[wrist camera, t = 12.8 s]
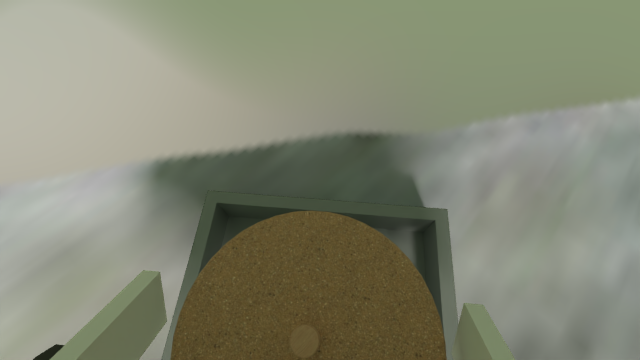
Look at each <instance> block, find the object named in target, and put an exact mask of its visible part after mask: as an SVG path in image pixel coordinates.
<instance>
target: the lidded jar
mask: <svg viewBox="0 0 640 360" xmlns="http://www.w3.org/2000/svg"><path fill="white" fill-rule="evenodd" d="M170 360H447V357H446V344H445V338H444V333H443V328H442V324H441V319H440V316H439V313H438V310H437V308H436V305H435V302H434V299H433V297H432V295H431V293H430V291H429V289H428V287H427V285H426V283H425V281H424V279H423V277H422V276H421V274H420V273H419V272H418V270H417V269H416V267H415V266H414V265H413V263H412V262H411V260H410V259H409V258H408V257H407V256H406V255H405V254H404V253H403V252H402V251H401V250H400V249H399V247H398V246H397V245H396V244H394V243H393V242H392V241H391V240H389V239H388V238H387V237H386V236H384V235H383V234H382V233H380V232H379V231H377V230H375V229H374V228H372V227H370V226H368V225H367V224H365V223H363V222H360V221H358V220H355V219H353V218H350V217H348V216H344V215H340V214H336V213H332V212H323V211H297V212H290V213H285V214H281V215H276V216H273V217H271V218H268V219H266V220H263V221H260V222H258V223H256V224H254V225H252V226H251V227H249V228H247V229H245V230H243V231H242V232H240V233H239V234H238V235H236V236H235V237H234V238H232V239H231V240H230V241H228V242H227V243H226V244H225V245H224V246H223V247H222V248H221V249H220V250H219V251H218V252H217V253H216V254H215V255H214V256H213V257H212V258H211V259H210V260H209V262H208V263H207V264H206V266H205V267H204V268H203V270H202V271H201V272H200V273H199V275H198V277H197V279H196V280H195V282H194V284H193V285H192V287H191V289H190V291H189V292H188V295H187V297H186V299H185V302H184V304H183V307H182V309H181V311H180V314H179V317H178V321H177V325H176V329H175V332H174V336H173V343H172V351H171V358H170Z"/></svg>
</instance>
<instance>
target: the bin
mask: <svg viewBox="0 0 640 360" xmlns="http://www.w3.org/2000/svg"><path fill="white" fill-rule="evenodd" d="M297 211H323V212H332V213H336V214H340V215H344V216H348V217H350V218H353V219H355V220H358V221H360V222H363V223H365V224H367V225H368V226H370V227H372V228H374V229H375V230H377V231H379V232H380V233H382V234H383V235H384V236H386V237H387V238H388V239H389V240H391V241H392V242H393V243H394V244H396V245H397V246H398V247H399V249H400V250H401V251H402V252H403V253H404V254H405V255H406V256H407V257H408V258H409V259H410V260H411V262H412V263H413V265H414V266H415V267H416V269H417V270H418V272H419V273H420V274H421V276H422V277H423V279H424V281H425V283H426V285H427V287H428V289H429V291H430V293H431V295H432V297H433V299H434V302H435V305H436V308H437V310H438V313H439V316H440V319H441V324H442V328H443V333H444V338H445V344H446V357H447V360H453V357H452V354H451V352H452V348H453V344H454V340H455V336H456V332H457V328H458V318H457V307H456V296H455V286H454V275H453V264H452V254H451V243H450V232H449V222H448V211H447V209H439V208H426V207H413V206H401V205H388V204H375V203H362V202H349V201H336V200H323V199H310V198H297V197H284V196H271V195H258V194H245V193H233V192H220V191H208V192H207V196H206V199H205V203H204V206H203V210H202V214H201V217H200V221H199V225H198V228H197V232H196V236H195V239H194V243H193V246H192V250H191V254H190V257H189V261H188V265H187V268H186V272H185V276H184V279H183V283H182V286H181V290H180V294H179V297H178V301H177V305H176V308H175V312H174V315H173V319H172V323H171V326H170V330H169V334H168V337H167V341H166V345H165V348H164V352H163V355H162V359H161V360H170V358H171V351H172V343H173V336H174V332H175V329H176V325H177V321H178V317H179V314H180V311H181V309H182V307H183V304H184V302H185V299H186V297H187V295H188V292H189V291H190V289H191V287H192V285H193V284H194V282H195V280H196V279H197V277H198V275H199V273H200V272H201V271H202V270H203V268H204V267H205V266H206V264H207V263H208V262H209V260H210V259H211V258H212V257H213V256H214V255H215V254H216V253H217V252H218V251H219V250H220V249H221V248H222V247H223V246H224V245H225V244H226V243H227V242H228V241H230V240H231V239H232V238H234V237H235V236H236V235H238V234H239V233H240V232H242V231H243V230H245V229H247V228H249V227H251V226H252V225H254V224H256V223H258V222H260V221H263V220H266V219H268V218H271V217H273V216H276V215H281V214H285V213H290V212H297Z"/></svg>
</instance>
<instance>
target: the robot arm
mask: <svg viewBox="0 0 640 360" xmlns="http://www.w3.org/2000/svg"><path fill="white" fill-rule="evenodd" d="M166 322H167V317H166V310H165V303H164V296H163V290H162V283H161V276H160V272H155V271H145V270H143V271H142V272H141V273H140V274H139V275H138V276H137V277H136V278H135V279H134V280H133V281H132V282H131V283H130V284H129V285H128V286H126V287H125V288H124V289H123V290H122V291H121V292H120V293H119V294H118V295H117V296H116V297H115V298H114V299H113V300H112V301H111V302H110V303H109V304H108V305H107V306H105V307H104V308H103V309H102V310H101V311H100V312H99V313H98V314H97V315H96V316H95V317H94V318H93V319H92V320H91V321H90V322H89V323H88V324H87V325H86V326H84V327H83V328H82V329H81V330H80V331H79V332H78V333H77V334H76V335H75V336H74V337H73V338H72V339H71V340H70V341H69V342H68V343H67V344H66V345H57V344H56V345H54V346H53V347H51V348H49V349H48V350H46V351H45V352H43V353H41V354H40V355H38V356H37V357H35V358H34V359H33V360H139V359H140V357H141V356H142V355H143V353H144V352H145V350H146V349H147V348H148V346H149V345H150V344H151V342H152V341H153V340H154V338H155V337H156V336H157V334H158V333H159V331H160V330H161V329H162V327H163V326H164V325H165V323H166ZM451 354H452V357H453V360H515V358H514V357H513V355H512V353H511V352H510V350H509V348H508V347H507V345H506V343H505V341H504V340H503V338H502V336H501V335H500V333H499V331H498V329H497V328H496V326H495V324H494V323H493V321H492V319H491V317H490V316H489V314H488V312H487V311H486V309H485V307H484V306H483V305H479V304H469V303H464V305H463V309H462V313H461V317H460V321H459V325H458V328H457V332H456V336H455V340H454V344H453V348H452V352H451Z"/></svg>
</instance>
